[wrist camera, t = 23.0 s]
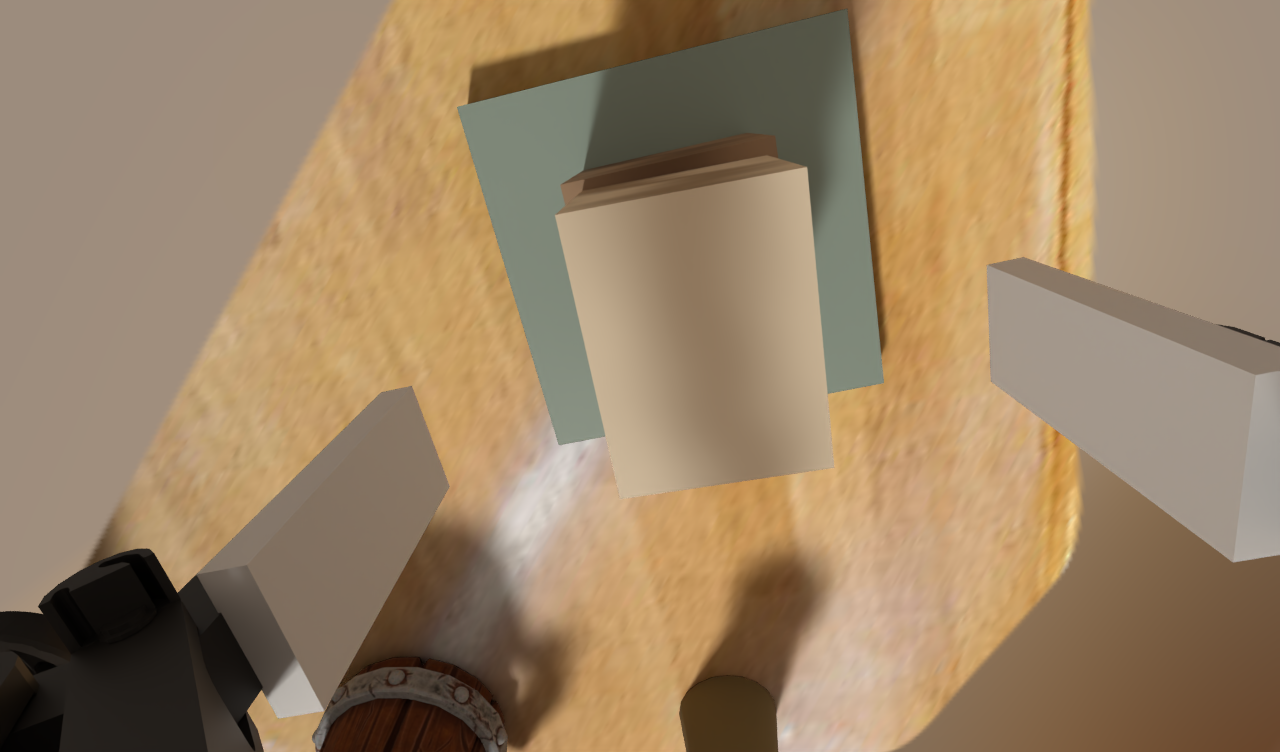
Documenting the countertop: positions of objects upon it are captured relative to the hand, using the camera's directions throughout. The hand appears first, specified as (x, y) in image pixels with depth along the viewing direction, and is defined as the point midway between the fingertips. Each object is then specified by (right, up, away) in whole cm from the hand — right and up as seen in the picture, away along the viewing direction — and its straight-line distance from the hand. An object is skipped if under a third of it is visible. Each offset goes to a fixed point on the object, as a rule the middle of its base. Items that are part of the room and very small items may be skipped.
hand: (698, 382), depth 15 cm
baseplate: (+1, +6, +15) cm, 17 cm away
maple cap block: (0, +3, +7) cm, 8 cm away
